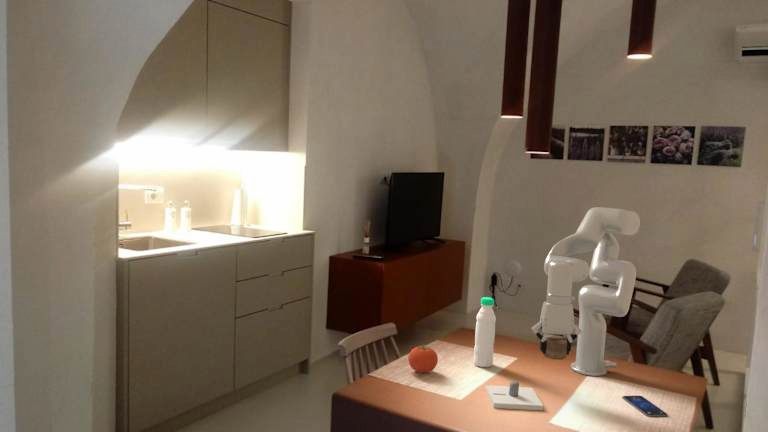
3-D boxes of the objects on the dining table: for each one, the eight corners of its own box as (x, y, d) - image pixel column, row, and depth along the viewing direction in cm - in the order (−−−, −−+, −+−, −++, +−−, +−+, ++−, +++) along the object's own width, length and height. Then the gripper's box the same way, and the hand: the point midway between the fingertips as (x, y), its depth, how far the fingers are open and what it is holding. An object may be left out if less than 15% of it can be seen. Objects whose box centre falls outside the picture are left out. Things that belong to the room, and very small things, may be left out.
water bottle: (469, 362, 219) (474, 296, 216) (485, 360, 222) (489, 295, 219) (480, 369, 213) (485, 300, 210) (496, 367, 216) (501, 299, 213)
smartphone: (647, 415, 179) (620, 395, 193) (647, 418, 179) (620, 398, 193) (669, 414, 180) (641, 395, 194) (669, 417, 180) (641, 397, 195)
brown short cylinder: (562, 352, 195) (563, 334, 194) (568, 359, 188) (569, 341, 188) (541, 351, 195) (542, 334, 194) (546, 359, 188) (548, 341, 188)
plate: (531, 392, 193) (532, 375, 193) (542, 410, 179) (544, 392, 179) (485, 389, 193) (486, 373, 193) (493, 407, 179) (494, 390, 179)
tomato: (435, 368, 211) (437, 340, 210) (437, 378, 201) (439, 350, 200) (407, 366, 211) (408, 339, 210) (407, 376, 201) (409, 348, 200)
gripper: (581, 297, 193) (577, 349, 195) (528, 295, 193) (525, 348, 195) (589, 303, 186) (585, 358, 188) (534, 301, 186) (530, 356, 188)
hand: (554, 352), depth 192 cm, fingers closed on brown short cylinder, 6 cm apart
